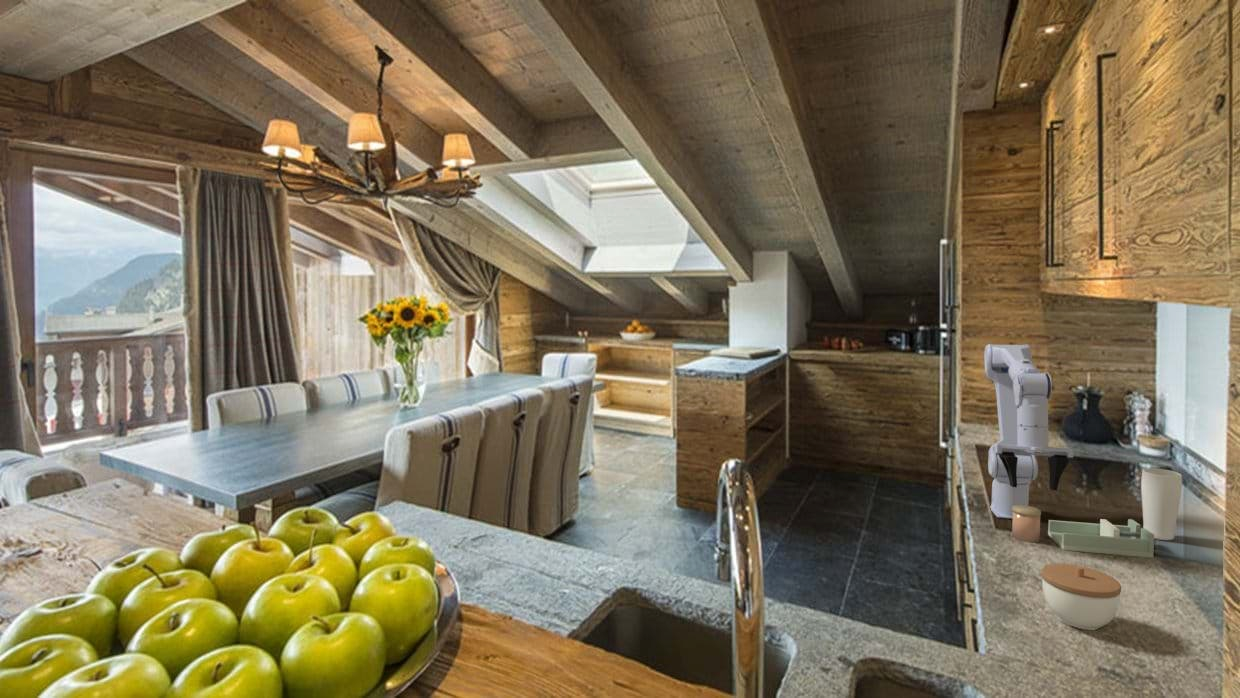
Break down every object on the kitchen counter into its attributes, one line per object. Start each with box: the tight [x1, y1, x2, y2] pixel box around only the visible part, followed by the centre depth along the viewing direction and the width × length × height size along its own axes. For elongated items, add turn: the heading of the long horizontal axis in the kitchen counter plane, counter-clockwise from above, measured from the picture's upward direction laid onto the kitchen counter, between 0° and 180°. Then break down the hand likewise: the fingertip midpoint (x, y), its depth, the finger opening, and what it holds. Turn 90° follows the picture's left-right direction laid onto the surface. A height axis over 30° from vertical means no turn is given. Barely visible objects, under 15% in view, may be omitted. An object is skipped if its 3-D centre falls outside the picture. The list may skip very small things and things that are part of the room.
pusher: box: [1099, 518, 1141, 538], centre depth 130 cm, size 6×8×4 cm
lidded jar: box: [1041, 563, 1122, 630], centre depth 102 cm, size 11×11×9 cm
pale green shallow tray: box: [1047, 518, 1155, 559], centre depth 132 cm, size 9×16×5 cm, turn 72°
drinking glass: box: [1140, 467, 1183, 541], centre depth 135 cm, size 7×7×15 cm
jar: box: [1011, 505, 1042, 543], centre depth 137 cm, size 5×5×7 cm
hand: (1033, 488), depth 132 cm, fingers open, 7 cm apart
